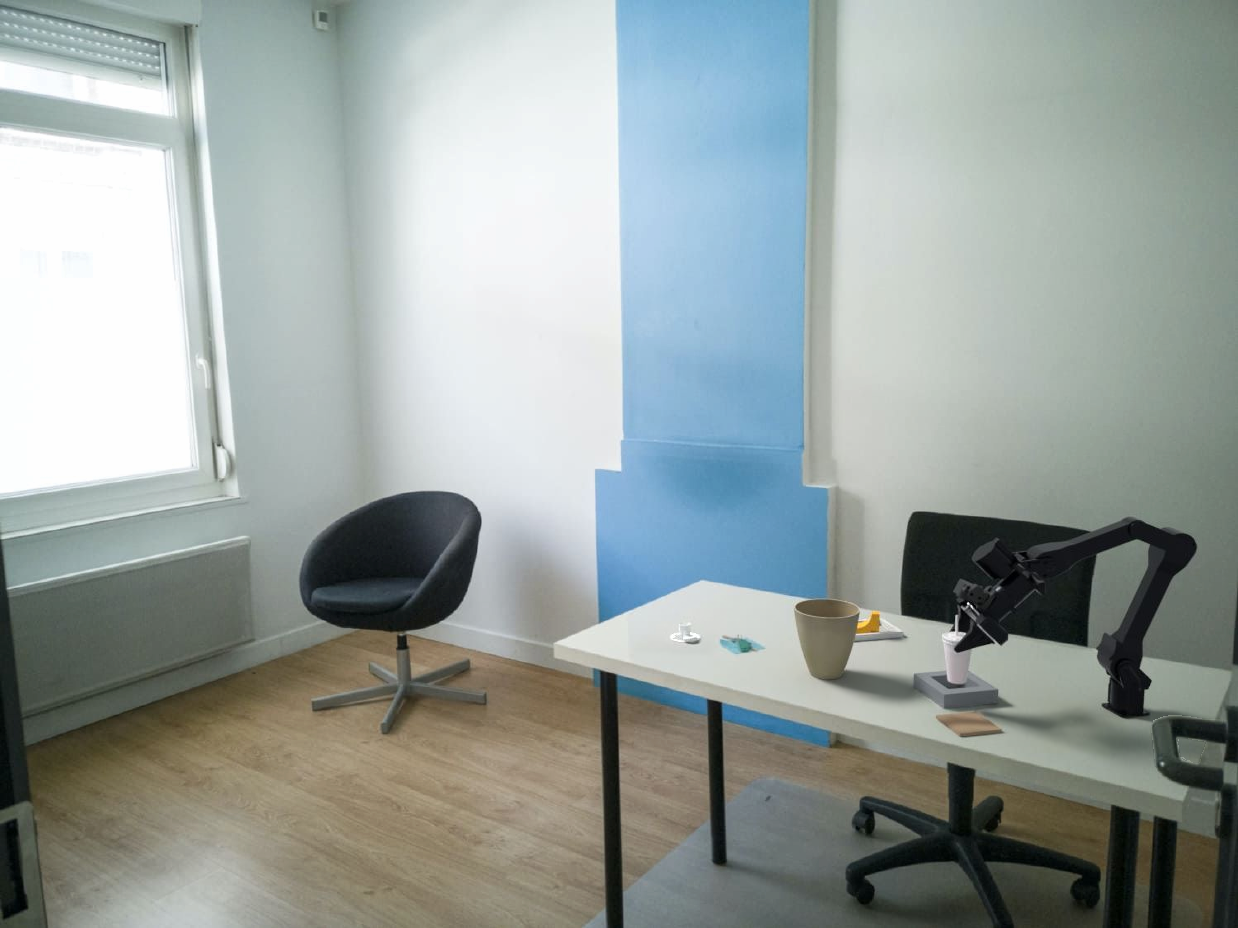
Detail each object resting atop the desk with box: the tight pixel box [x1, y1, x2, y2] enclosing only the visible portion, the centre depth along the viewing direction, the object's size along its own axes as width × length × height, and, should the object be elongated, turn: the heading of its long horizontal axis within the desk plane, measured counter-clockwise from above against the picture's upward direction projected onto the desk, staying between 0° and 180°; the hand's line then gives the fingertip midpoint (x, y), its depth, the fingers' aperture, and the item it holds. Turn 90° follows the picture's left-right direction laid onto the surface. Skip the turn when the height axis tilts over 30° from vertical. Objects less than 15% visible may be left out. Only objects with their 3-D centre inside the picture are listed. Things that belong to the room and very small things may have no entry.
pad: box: [935, 710, 1003, 737], centre depth 183 cm, size 9×9×1 cm
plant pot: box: [793, 598, 861, 680], centre depth 211 cm, size 15×15×16 cm
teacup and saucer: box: [669, 621, 701, 643], centre depth 240 cm, size 9×8×4 cm
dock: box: [912, 670, 999, 709], centre depth 199 cm, size 13×13×3 cm
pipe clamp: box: [856, 610, 881, 634], centre depth 241 cm, size 12×4×6 cm, turn 75°
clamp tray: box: [854, 617, 904, 642], centre depth 242 cm, size 12×18×2 cm, turn 101°
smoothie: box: [941, 614, 973, 684], centre depth 191 cm, size 6×6×14 cm
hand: (951, 645), depth 191 cm, fingers closed on smoothie, 6 cm apart
